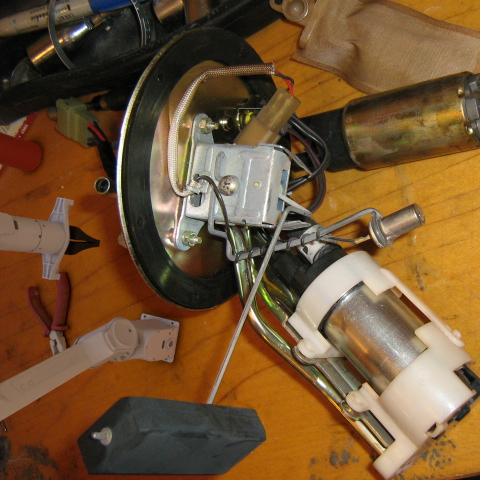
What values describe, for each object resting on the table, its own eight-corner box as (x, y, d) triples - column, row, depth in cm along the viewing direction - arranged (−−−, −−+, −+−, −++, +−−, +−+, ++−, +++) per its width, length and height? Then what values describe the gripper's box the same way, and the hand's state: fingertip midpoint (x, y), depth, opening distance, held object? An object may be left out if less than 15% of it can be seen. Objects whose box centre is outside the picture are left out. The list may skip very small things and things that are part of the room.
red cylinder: (44, 143, 110) (-3, 128, 100) (39, 172, 110) (-9, 160, 100) (24, 142, 113) (-24, 127, 103) (19, 170, 113) (-30, 158, 102)
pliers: (49, 373, 102) (38, 375, 100) (33, 288, 107) (22, 287, 104) (86, 357, 99) (76, 359, 96) (68, 270, 103) (57, 269, 101)
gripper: (21, 190, 79) (87, 204, 91) (5, 274, 78) (74, 276, 91) (50, 194, 76) (114, 207, 89) (34, 281, 76) (101, 282, 88)
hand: (96, 242), depth 90 cm, fingers closed
